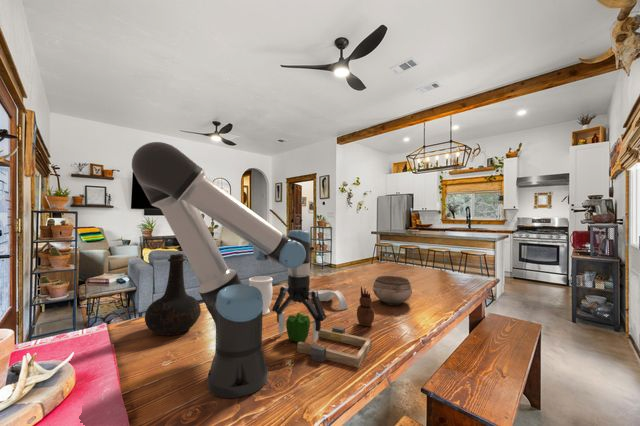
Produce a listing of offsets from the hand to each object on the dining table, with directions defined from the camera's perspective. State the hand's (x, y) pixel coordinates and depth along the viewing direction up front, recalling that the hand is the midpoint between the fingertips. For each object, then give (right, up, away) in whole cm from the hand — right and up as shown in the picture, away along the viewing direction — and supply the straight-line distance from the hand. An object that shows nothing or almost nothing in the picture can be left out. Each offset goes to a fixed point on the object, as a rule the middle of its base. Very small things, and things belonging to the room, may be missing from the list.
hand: (297, 335), depth 95 cm
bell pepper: (0, -2, 0) cm, 2 cm away
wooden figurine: (+26, -2, +14) cm, 29 cm away
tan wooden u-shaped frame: (+13, -2, -6) cm, 14 cm away
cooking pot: (+44, -3, +42) cm, 61 cm away
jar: (-19, -1, +26) cm, 32 cm away
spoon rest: (+12, -2, +41) cm, 43 cm away
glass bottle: (-46, -1, +6) cm, 47 cm away
